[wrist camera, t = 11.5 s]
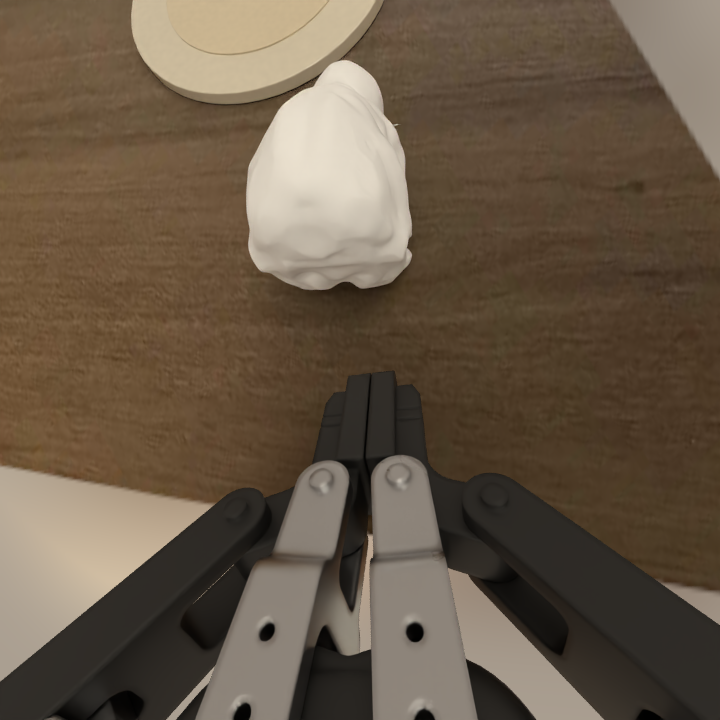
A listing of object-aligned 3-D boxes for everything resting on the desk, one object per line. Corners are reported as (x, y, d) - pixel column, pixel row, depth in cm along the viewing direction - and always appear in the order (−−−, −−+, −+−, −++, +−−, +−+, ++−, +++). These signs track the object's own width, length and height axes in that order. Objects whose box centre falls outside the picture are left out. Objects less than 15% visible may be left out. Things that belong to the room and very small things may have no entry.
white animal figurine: (193, 223, 11) (239, -38, 14) (293, 328, 19) (307, 144, 22) (407, 200, 10) (402, -77, 13) (417, 322, 18) (412, 130, 21)
